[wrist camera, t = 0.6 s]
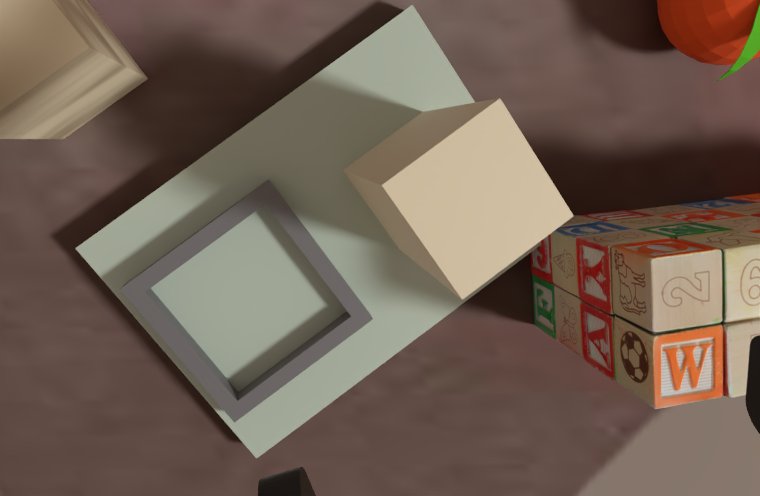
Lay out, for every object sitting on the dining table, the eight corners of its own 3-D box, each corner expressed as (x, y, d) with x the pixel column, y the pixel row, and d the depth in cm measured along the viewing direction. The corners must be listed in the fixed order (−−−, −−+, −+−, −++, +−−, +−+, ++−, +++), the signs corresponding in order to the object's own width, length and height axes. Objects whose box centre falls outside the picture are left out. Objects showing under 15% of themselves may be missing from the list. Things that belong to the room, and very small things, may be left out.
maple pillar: (-10, 50, 30) (-159, 1, 20) (78, -12, 31) (-21, -94, 20) (63, 139, 32) (-40, 138, 21) (148, 78, 32) (89, 47, 21)
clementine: (716, 104, 37) (820, 96, 30) (609, 71, 36) (692, 55, 29) (760, -38, 36) (877, -80, 29) (651, -78, 35) (748, -131, 28)
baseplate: (83, 243, 32) (-24, 305, 20) (405, 10, 33) (488, -64, 21) (256, 445, 36) (253, 603, 24) (546, 228, 37) (686, 272, 24)
